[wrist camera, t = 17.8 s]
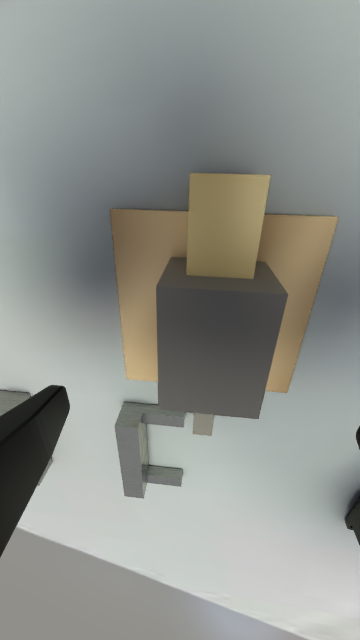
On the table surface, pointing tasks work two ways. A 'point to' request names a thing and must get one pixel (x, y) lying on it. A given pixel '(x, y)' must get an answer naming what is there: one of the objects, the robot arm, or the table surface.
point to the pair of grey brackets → (128, 442)
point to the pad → (171, 241)
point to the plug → (219, 305)
